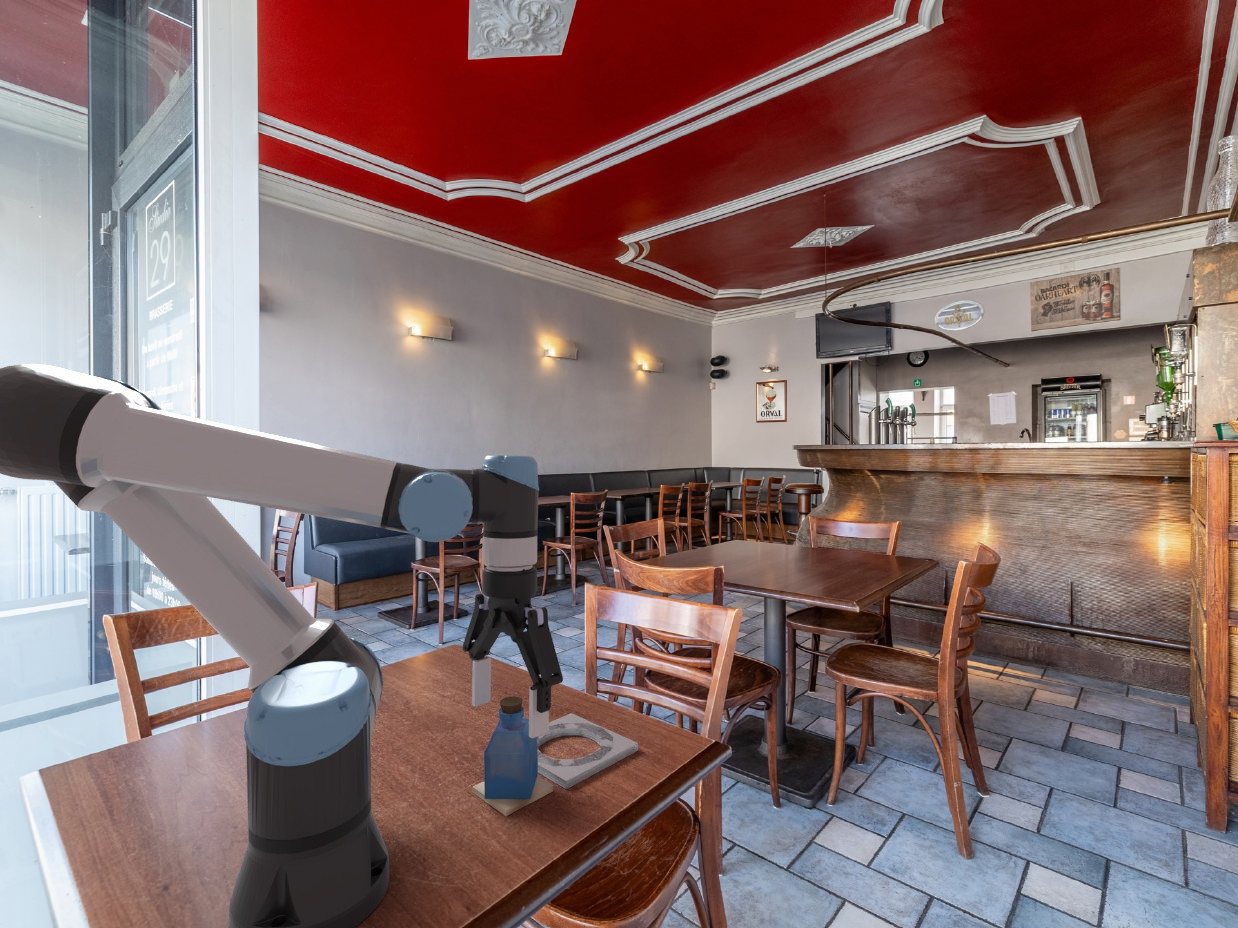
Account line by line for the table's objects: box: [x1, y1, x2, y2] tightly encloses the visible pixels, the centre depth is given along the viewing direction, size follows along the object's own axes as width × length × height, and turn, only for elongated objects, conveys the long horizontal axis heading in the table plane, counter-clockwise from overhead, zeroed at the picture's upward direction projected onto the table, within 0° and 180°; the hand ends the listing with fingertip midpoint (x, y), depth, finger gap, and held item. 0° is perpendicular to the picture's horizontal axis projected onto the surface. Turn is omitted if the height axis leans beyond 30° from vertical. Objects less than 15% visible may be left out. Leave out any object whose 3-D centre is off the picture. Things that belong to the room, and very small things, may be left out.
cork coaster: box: [471, 775, 554, 817], centre depth 83 cm, size 8×8×1 cm
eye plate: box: [537, 712, 639, 790], centre depth 95 cm, size 15×16×1 cm
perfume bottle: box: [483, 695, 539, 799], centre depth 83 cm, size 6×6×12 cm
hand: (508, 718), depth 83 cm, fingers open, 13 cm apart
